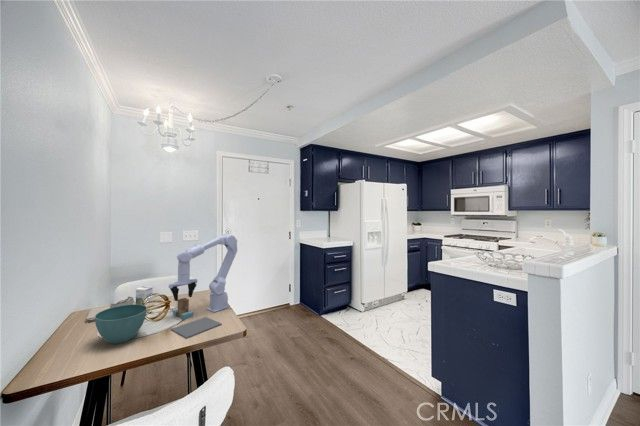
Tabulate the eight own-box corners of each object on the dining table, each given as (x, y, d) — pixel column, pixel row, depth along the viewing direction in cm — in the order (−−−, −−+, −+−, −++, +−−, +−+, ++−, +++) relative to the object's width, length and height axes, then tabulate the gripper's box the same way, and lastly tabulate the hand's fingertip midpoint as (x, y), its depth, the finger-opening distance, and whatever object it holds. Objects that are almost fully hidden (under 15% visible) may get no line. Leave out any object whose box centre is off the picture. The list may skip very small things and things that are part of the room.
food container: (121, 324, 127) (122, 304, 127) (109, 324, 127) (109, 304, 127) (139, 314, 140) (140, 296, 140) (128, 314, 140) (128, 296, 140)
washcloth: (85, 324, 128) (85, 318, 128) (89, 313, 142) (89, 307, 142) (115, 319, 135) (116, 313, 135) (116, 308, 149) (116, 303, 149)
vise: (176, 309, 148) (176, 305, 148) (192, 317, 138) (193, 312, 138) (166, 312, 144) (166, 308, 144) (182, 320, 134) (182, 315, 134)
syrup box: (152, 311, 144) (153, 286, 144) (144, 315, 138) (145, 289, 138) (143, 311, 145) (143, 285, 145) (134, 315, 139) (135, 288, 139)
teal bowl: (150, 327, 125) (151, 302, 125) (139, 345, 108) (140, 316, 108) (104, 333, 118) (105, 306, 118) (85, 353, 101) (86, 322, 101)
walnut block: (184, 314, 142) (185, 297, 142) (188, 315, 140) (188, 299, 140) (177, 316, 139) (177, 299, 139) (181, 318, 137) (181, 301, 137)
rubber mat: (205, 317, 138) (205, 316, 138) (221, 324, 130) (221, 323, 130) (170, 330, 123) (170, 328, 123) (186, 338, 115) (186, 337, 115)
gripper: (192, 270, 148) (192, 293, 148) (166, 274, 136) (165, 300, 136) (199, 272, 144) (199, 296, 144) (172, 277, 132) (172, 303, 132)
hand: (183, 298), depth 139 cm, fingers open, 7 cm apart
